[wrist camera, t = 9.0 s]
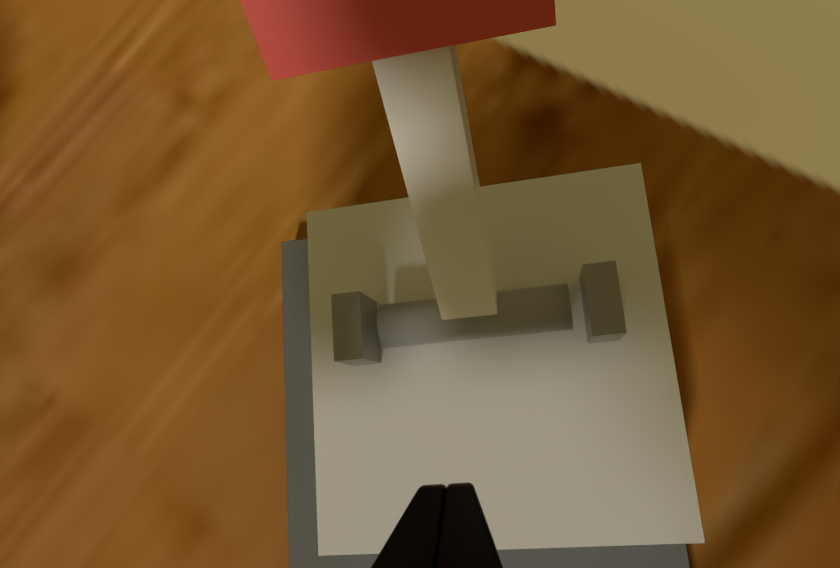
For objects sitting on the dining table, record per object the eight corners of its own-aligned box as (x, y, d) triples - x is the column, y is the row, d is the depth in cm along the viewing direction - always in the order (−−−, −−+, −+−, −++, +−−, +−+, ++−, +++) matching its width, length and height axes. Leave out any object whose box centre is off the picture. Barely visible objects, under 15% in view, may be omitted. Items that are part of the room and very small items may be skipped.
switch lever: (575, 350, 15) (547, -118, 8) (384, 368, 16) (224, -41, 9) (566, 296, 16) (535, -139, 10) (391, 315, 17) (257, -71, 11)
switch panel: (711, 745, 17) (782, 891, 12) (306, 735, 19) (219, 853, 14) (625, 204, 20) (650, 136, 15) (292, 249, 22) (219, 203, 17)
